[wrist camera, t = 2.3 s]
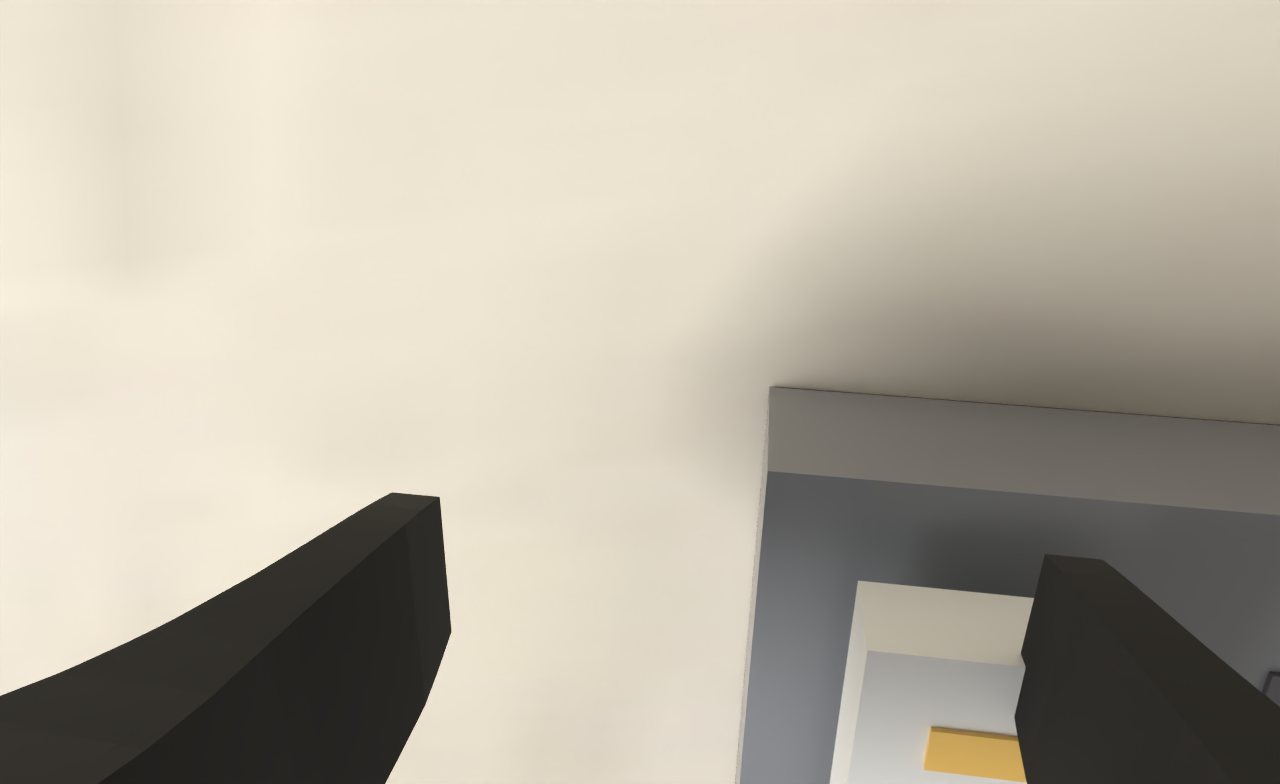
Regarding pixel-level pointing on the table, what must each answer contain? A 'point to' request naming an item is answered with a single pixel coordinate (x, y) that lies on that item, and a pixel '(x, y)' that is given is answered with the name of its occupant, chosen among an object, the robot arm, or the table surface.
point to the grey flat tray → (990, 535)
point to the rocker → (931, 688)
